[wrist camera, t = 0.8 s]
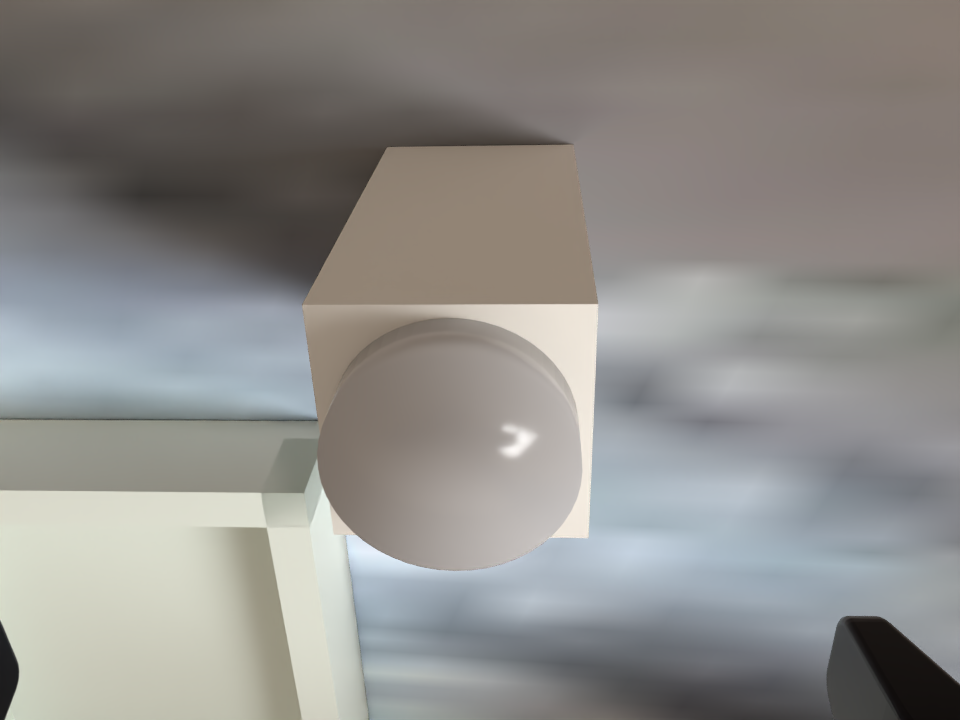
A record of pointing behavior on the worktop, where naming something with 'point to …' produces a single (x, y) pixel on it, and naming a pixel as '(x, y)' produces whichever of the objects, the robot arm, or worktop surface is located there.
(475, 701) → the worktop surface
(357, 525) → the cream block
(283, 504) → the tray
